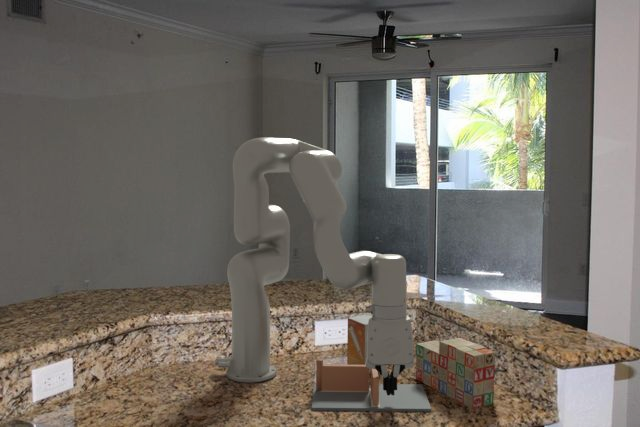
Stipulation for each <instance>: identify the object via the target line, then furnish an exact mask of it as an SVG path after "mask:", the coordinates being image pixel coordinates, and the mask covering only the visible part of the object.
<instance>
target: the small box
mask: <svg viewBox="0 0 640 427" xmlns="http://www.w3.org/2000/svg"><path fill="white" fill-rule="evenodd" d="M370 316H371V315H368V314H363V315H355V316H350V317H347V347H346V348H347V349H346V350H347V354H346V355H347V356H346V357H347V358H346V360H347V361H346V362H347V364H346V365H365V363H366V359H367V353H366V342H367V329H368V321H369V317H370ZM369 374H371V368H369Z"/></svg>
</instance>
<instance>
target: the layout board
mask: <svg viewBox="0 0 640 427" xmlns="http://www.w3.org/2000/svg"><path fill="white" fill-rule="evenodd" d="M428 399H429V398H428V397H427V393H426V390H425V388H424V385H423V384H420V383H419V384H418V383H417V384H414V383H413V384H412V383H411V384H410V383H409V384H408V383H407V384H406V383H402V384H401V383H400V384H399V383H397V390H394V395H391V394H390V395H387V393H386V390H383V383H379V405H373V401H372V394H371V383H369V391H316V382H315V383H313V387H312V399H311V411H329V412H330V411H333V412H334V411H338V412H340V411H341V412H342V411H343V412H344V411H345V412H346V411H348V412H352V411H353V412H355V411H356V412H432V407H431V404H430V402H429V400H428Z"/></svg>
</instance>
